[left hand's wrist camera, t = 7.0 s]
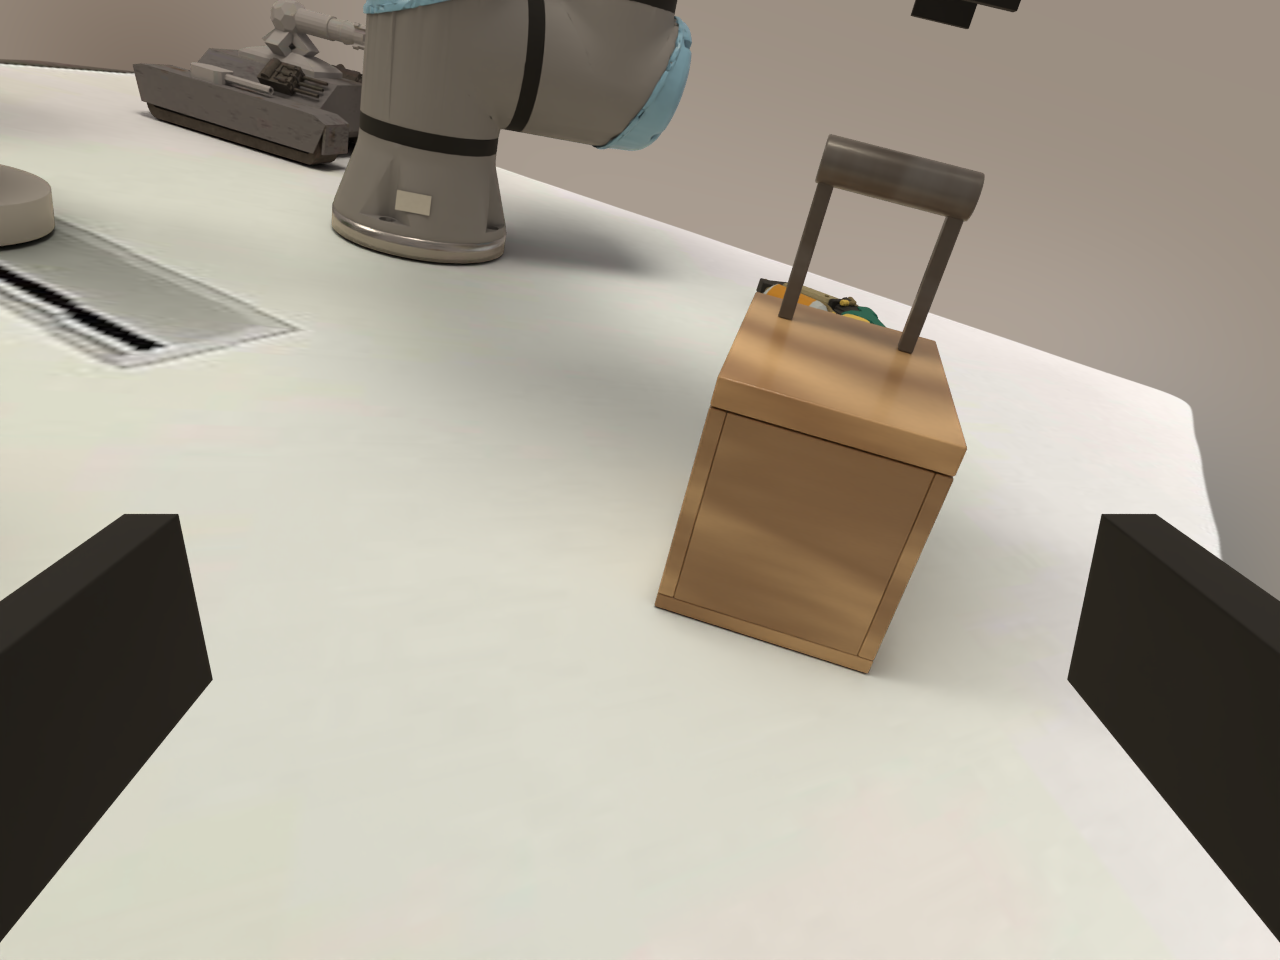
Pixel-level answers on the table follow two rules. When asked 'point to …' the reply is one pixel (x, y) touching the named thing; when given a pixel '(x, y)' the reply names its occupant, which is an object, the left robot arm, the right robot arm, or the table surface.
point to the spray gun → (821, 301)
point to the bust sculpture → (24, 206)
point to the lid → (857, 330)
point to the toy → (268, 89)
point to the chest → (797, 538)
